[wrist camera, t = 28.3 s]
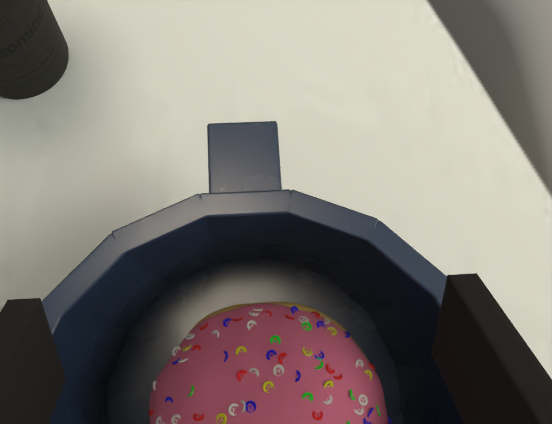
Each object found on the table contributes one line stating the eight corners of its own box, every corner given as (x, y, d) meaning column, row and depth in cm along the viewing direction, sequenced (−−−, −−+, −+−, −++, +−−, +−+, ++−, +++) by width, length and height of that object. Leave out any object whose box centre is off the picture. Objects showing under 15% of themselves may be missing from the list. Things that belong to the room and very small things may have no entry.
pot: (82, 688, 19) (-58, 974, 11) (98, 199, 24) (12, 120, 16) (446, 651, 20) (593, 885, 11) (387, 186, 25) (458, 104, 17)
